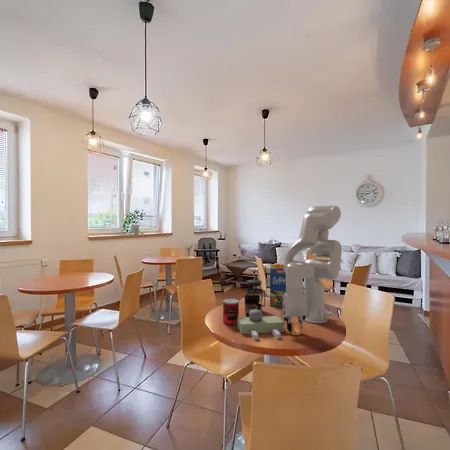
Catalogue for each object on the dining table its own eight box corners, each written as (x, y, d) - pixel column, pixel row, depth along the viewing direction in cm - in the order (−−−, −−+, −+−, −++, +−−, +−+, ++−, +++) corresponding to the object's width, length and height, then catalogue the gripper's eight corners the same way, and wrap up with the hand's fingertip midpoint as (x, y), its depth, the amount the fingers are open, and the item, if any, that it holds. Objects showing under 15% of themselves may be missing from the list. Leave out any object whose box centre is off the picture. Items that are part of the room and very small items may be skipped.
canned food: (229, 318, 147) (229, 297, 147) (241, 322, 142) (241, 300, 142) (219, 322, 141) (220, 300, 141) (232, 326, 136) (232, 303, 136)
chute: (295, 329, 132) (295, 318, 132) (301, 334, 126) (301, 323, 126) (287, 330, 131) (287, 319, 131) (292, 335, 125) (292, 324, 125)
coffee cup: (259, 322, 142) (259, 296, 142) (242, 320, 144) (243, 295, 144) (260, 316, 151) (260, 292, 151) (245, 315, 153) (245, 291, 153)
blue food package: (270, 303, 176) (270, 263, 176) (289, 304, 174) (289, 264, 174) (269, 306, 170) (270, 265, 170) (290, 307, 168) (290, 265, 168)
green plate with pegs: (277, 324, 139) (277, 307, 139) (289, 337, 123) (289, 318, 123) (237, 326, 136) (237, 309, 136) (244, 340, 120) (244, 320, 120)
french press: (243, 312, 158) (243, 271, 158) (246, 307, 167) (246, 268, 167) (264, 314, 155) (264, 272, 155) (265, 309, 164) (266, 269, 164)
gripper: (308, 288, 133) (308, 326, 133) (274, 289, 130) (274, 328, 131) (315, 292, 126) (315, 332, 126) (279, 294, 123) (279, 335, 123)
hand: (294, 330), depth 128 cm, fingers closed on chute, 4 cm apart
